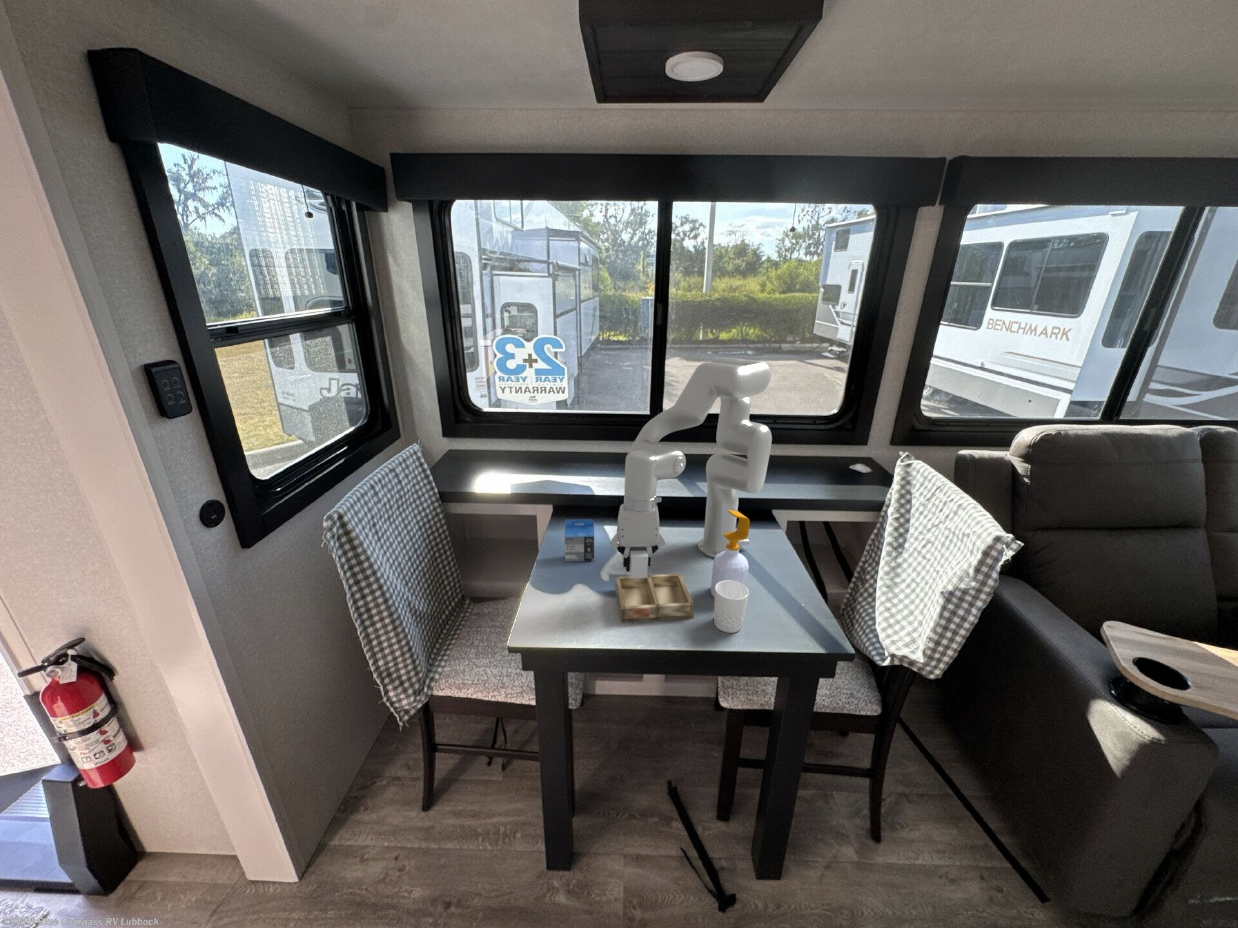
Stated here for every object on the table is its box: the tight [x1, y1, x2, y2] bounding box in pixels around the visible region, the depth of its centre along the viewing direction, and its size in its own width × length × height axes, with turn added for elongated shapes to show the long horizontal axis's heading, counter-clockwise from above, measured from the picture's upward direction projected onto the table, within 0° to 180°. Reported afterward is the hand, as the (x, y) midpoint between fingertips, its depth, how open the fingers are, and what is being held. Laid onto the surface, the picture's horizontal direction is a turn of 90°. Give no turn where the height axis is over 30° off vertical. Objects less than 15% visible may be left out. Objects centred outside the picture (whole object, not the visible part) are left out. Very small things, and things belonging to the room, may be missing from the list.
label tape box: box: [564, 519, 595, 563], centre depth 142 cm, size 9×4×12 cm, turn 94°
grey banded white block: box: [628, 547, 649, 579], centre depth 118 cm, size 4×8×6 cm, turn 7°
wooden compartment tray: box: [614, 573, 695, 624], centre depth 123 cm, size 18×15×4 cm
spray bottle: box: [710, 510, 751, 599], centre depth 124 cm, size 9×9×25 cm
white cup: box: [713, 580, 750, 634], centre depth 115 cm, size 8×8×10 cm
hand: (636, 568), depth 119 cm, fingers closed on grey banded white block, 4 cm apart
